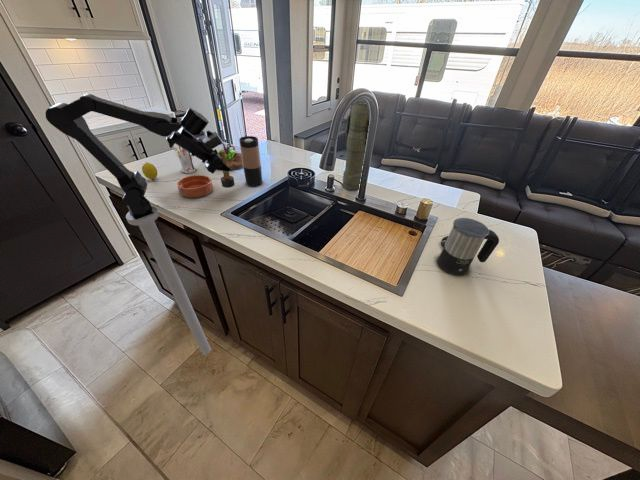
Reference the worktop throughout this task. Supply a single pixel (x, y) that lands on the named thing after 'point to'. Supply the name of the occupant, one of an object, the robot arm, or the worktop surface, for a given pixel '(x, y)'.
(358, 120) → the green banded column
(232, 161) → the plant
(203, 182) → the bowl
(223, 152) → the dish brush
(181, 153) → the beer glass
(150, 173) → the lemon
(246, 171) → the travel mug
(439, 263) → the milk frother
